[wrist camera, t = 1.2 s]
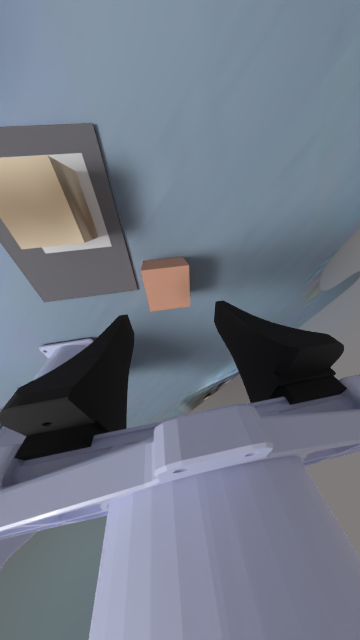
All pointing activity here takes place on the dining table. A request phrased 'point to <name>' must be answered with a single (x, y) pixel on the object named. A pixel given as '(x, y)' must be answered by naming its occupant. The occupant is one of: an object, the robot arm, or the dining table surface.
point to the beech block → (43, 203)
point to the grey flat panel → (109, 248)
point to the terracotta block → (166, 283)
